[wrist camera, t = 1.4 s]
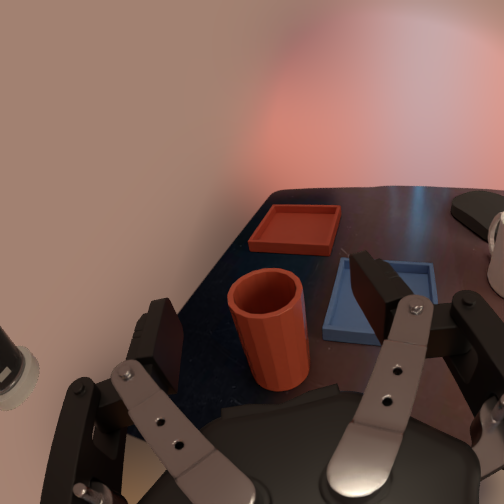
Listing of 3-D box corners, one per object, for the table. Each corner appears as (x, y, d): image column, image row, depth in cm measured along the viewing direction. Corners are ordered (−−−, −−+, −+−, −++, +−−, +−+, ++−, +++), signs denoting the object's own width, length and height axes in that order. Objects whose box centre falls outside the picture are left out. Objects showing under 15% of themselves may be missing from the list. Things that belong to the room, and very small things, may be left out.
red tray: (329, 256, 46) (329, 245, 45) (250, 251, 51) (247, 241, 50) (341, 215, 56) (340, 205, 55) (274, 213, 61) (272, 204, 60)
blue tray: (436, 349, 28) (440, 338, 27) (322, 339, 33) (322, 328, 32) (430, 274, 38) (432, 262, 37) (341, 268, 43) (340, 257, 42)
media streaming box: (442, 211, 50) (444, 196, 49) (487, 198, 51) (488, 185, 49) (494, 250, 38) (498, 234, 36) (534, 230, 39) (538, 216, 37)
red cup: (271, 401, 28) (250, 330, 22) (242, 363, 33) (215, 289, 27) (321, 369, 30) (317, 291, 24) (288, 336, 35) (274, 259, 29)
